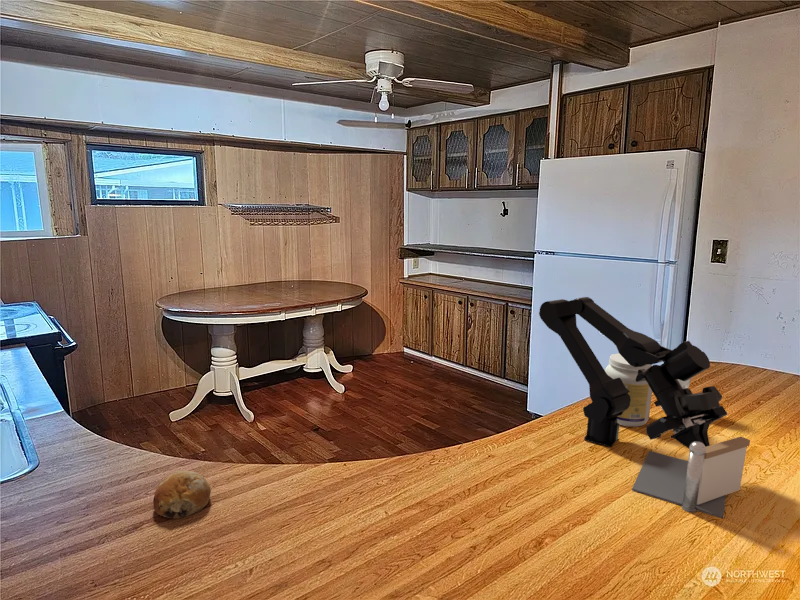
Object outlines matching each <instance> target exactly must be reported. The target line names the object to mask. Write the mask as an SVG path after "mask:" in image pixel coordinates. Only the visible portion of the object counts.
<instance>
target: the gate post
mask: <svg viewBox="0 0 800 600" xmlns="http://www.w3.org/2000/svg"><path fill="white" fill-rule="evenodd" d="M688 451H689V453H688V459H687V461H688V466H687V473H686V480H685V487H684V494H683V501H682V506H681V509H682V510H683V511H685V512H687V513H692V514H693V513H696V511H697V510H696V506H697V499H698V493H699V486H700V479H701V473H702V466H703V459H704V454H705V453H706V447H705V445H704V444H703V443H702V442H699V441H694V442H692V443H691V444H690V445H689V448H688Z"/></svg>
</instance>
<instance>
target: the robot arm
mask: <svg viewBox="0 0 800 600" xmlns="http://www.w3.org/2000/svg"><path fill="white" fill-rule="evenodd" d="M538 315H539V318H540V319H541V321H542V323H544V325H545V326H546V327H547V328H548V329H549V330H551V331H552V332H554V333H555V334H557V336H559V337H560V339H561V341H562V342H563V344H564V346H565V347H566V349H567V350H568V352H569V354H570V355H571V357H572V358H573V360H574V362H575V363H576V365H577V367H578V368H579V370H580V372H581V373H582V375H583V377H584V378H585V380H586V382H587V383H588V386H589V387H588V388H589V389H588V390H589V397H590V400H591V403H588V404H587V405H584V407H583V408H582V410H583V415H584V417H585V418H587V426H586V427H587V428H586V434H585V436H584V438H583V441H587V442H590V443H594V444H597V445H601V446H605V447H609V448H612V447H613V445H614V444H615V443H616V442H617V441H618V440H619V433H620V426H621V425H620V424H619V423H617V420H618V417H617V416H620V415H622V413H623V412H624V411H625V410H627V409H628V408H629V406H630V401H631V398H630V396H629V394H628V393H629V392H630V391H629V390H628V389H627V388H626V387H625V386H624V384H623V382H622V380H621V379H620V378H616V379H613V378H611V377H610V376H608V375H607V373H606V372H605V369H604V367H603V366H602V364H601V363H600V361H599V359H598V357H597V356H596V354H595V353H594V351H593V350H592V348H591V347H590V345H589V344H588V342H587V340H586V339H585V337H584V335H583V334H582V333H581V331H580V329H579V327H578V325H577V315H578V316H579V317H581V318H582V319H583V320H584V321H586V322H587V323H588V324H590V325H591V326H592V327H593V328H595V330H597V331H598V332H600V333H601V334H602V335H603V336H605V337H606V338H607V339H608V340H610V342H612V343H613V344H614V346H616V349H617V351H618V353H619V354H620V355H621V356H622V357H623V358H624V359H625V360H626V361H627V362H628V363H629V364H630V365H631V366H633V367H642V366H645V365H649V364H650V365H652V366H651V367H649V368H648V369H646V370H645V369H640V370H638V374H637V376H636V382H640V381H647V383H648V385H649V387H650V388H651V390H652V394H653V396H654V397H655V398H656V400H655V401H653V403H654V405H655V407H660V408H661V407H662V411H663V412H664V414H665V416H661V417H659V418H658V419H656V420H654V421H652V422H650V423H649V424H647V425H646V427H645V433H646V435H647V436H648V439H649V440H655V439H659V438H661V437H662V435H663V434H665V433H666V432H669V431H671V430H672V433H674V434H672V435H670V436H669V437H670V439H674V440H676V441H677V442H679V443H680V444H682V445H683V446H685V447H686V448H687V449H689V445H690V444H691V443H692V442H694V441H699V442H702V443H703V444H704V445H705V447H706V446H710V440H709V433H708V432H709V431H708V430H709V427H710V425H712V424H713V422H715V421H718V420H719V419H722V418H724V417H725V416H728V415H729V414H728V413H727V411H726V409H725V408H724V406H723V405H720V401H721V400H722V399H723V395H722V394H721V392H720V391H719V390H718V389H717V387H716V386H714V385H711V386H707V387H706V386H705V387H703V388H702V391H701V392H697V393H693V391H692V390H691V389H689V387H688V388H685V389H683V388H682V386H681V384H680V383H679V381H678V380H677V379H679V380H682V381H687V380H689V379H690V378H691V379H692V378H693V377H696V376H698V375H699V374H701V373H703V372H704V371H707V370H708V369H709V368H710V367H711V362H710V359H709V357H708V355H707V354H706V352H705V351H702V350H701V349H700V348H699V347H697V346H696V345H693V344H692V342H691V341H690V340H685V341H683V342H681V343H680V344H678V345H677V346H676V347H674V349H670V348H667V347H665V346H662V345H660V343H659V342H658V341H657V340H656V339H654V338H652V337H650V336H648V335H646V334H644V333H642V332H638V331H635V330H633V329H630V328H629V327H628V326H626V325H625V324H624V323H622V322H621V321H620V320H618V319H617V318H616V317H614V316H613V315H612V314H610V313H609V312H608V311H606V310H605V309H604V308H603V307H601V306H599V305H598V304H597V303H595V301H594V300H593V298H591V297H589V296H583V297H578V298H575V299H571V300H568V299H563V298H562V299H554V300H547V301H544V302H543V303H542V304H541V305H540V307H539V311H538ZM662 362H663V363H662ZM658 363H659V364H660V363H662V364H660V365H659V364H658Z"/></svg>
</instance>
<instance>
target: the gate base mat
mask: <svg viewBox="0 0 800 600" xmlns="http://www.w3.org/2000/svg"><path fill="white" fill-rule="evenodd" d="M642 463H643V464H642V465H641V468H640V470H639V473H638V474H637V477H636V479H635V481H634V484H633V486H632V489H631V491H632V492H637V493H639V494H641V495H646V496H648V497H652V498H655V499H659V500H662V501H665V502H668V503H671V504H675V505H678V506H681V507H682V501H683V494H684V487H685V480H686V473H687V466H688V460H686V459H681V458H678V457H674V456H670V455H667V454H663V453H658V452H656V451H652V450H648V452H647V455H646V457H645V459H644V462H642ZM726 498H727V495H724V496H721V497H718V498H715V499H713V500H710V501H707V502H704V503H702V504H699V505H697V506H696V511H697V512H701V513H704V514H707V515H711V516H714V517H717V518H720V519H724V516H725V507H726Z"/></svg>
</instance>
